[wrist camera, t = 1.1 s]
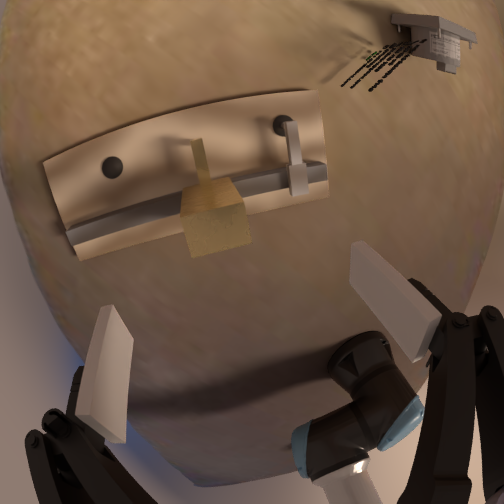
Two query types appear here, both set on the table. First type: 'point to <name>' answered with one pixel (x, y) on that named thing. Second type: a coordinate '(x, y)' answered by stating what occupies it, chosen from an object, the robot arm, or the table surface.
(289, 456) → the table surface
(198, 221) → the brass sliding point
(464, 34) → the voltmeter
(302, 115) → the gauge board
